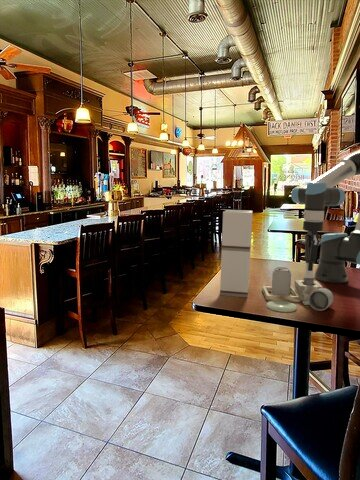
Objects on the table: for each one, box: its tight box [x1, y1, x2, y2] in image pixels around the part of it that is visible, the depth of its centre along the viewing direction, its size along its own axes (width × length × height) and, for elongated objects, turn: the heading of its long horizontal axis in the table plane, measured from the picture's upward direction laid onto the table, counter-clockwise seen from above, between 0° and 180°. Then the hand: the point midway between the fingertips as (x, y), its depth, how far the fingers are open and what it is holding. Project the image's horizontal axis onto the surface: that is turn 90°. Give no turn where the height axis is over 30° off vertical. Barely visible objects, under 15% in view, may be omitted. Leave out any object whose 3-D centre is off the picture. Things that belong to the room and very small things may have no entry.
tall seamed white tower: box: [219, 209, 254, 298], centre depth 154 cm, size 11×11×35 cm
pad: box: [266, 300, 297, 313], centre depth 140 cm, size 11×11×1 cm
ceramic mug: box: [302, 287, 334, 312], centre depth 140 cm, size 11×8×8 cm
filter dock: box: [261, 279, 324, 303], centre depth 152 cm, size 22×13×6 cm, turn 85°
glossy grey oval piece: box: [303, 276, 315, 285], centre depth 151 cm, size 4×4×5 cm
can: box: [271, 266, 292, 296], centre depth 152 cm, size 8×8×12 cm
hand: (308, 277), depth 151 cm, fingers closed
